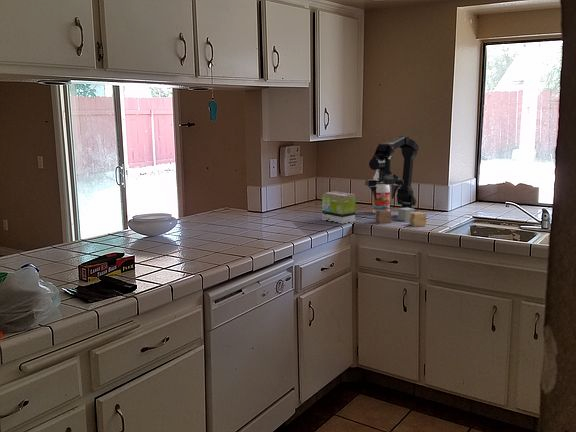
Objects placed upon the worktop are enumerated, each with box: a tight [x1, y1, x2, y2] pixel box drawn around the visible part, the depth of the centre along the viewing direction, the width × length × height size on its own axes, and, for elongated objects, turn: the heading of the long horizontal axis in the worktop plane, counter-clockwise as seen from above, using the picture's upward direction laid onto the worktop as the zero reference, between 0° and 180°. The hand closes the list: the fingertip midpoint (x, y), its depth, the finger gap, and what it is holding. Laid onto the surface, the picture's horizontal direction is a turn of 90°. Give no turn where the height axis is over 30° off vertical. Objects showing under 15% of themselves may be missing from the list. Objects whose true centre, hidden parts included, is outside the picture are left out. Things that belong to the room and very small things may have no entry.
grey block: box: [397, 207, 416, 222], centre depth 303 cm, size 6×6×6 cm
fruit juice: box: [371, 169, 391, 215], centre depth 322 cm, size 9×9×28 cm
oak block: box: [409, 211, 427, 227], centre depth 289 cm, size 6×6×6 cm
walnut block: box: [375, 210, 392, 224], centre depth 297 cm, size 6×6×6 cm
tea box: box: [321, 190, 356, 225], centre depth 300 cm, size 15×10×15 cm, turn 42°
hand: (384, 199), depth 295 cm, fingers open, 9 cm apart
